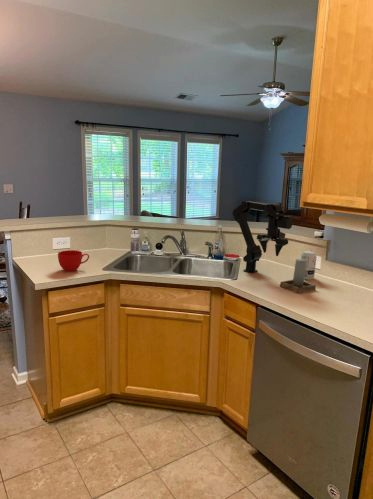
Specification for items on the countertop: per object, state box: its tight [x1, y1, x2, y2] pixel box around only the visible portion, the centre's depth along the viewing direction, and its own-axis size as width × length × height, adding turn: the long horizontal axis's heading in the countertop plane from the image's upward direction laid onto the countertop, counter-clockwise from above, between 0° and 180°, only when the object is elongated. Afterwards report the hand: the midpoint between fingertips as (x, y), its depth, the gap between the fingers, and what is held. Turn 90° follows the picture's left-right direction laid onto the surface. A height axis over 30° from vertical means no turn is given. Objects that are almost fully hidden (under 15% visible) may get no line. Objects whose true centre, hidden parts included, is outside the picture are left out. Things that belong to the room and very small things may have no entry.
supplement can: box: [300, 250, 317, 280], centre depth 205 cm, size 8×8×15 cm
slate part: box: [292, 258, 306, 288], centre depth 186 cm, size 5×5×14 cm
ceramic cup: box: [57, 249, 90, 273], centre depth 205 cm, size 13×17×10 cm
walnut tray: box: [279, 279, 317, 295], centre depth 188 cm, size 12×12×2 cm
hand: (270, 254), depth 204 cm, fingers open, 9 cm apart
